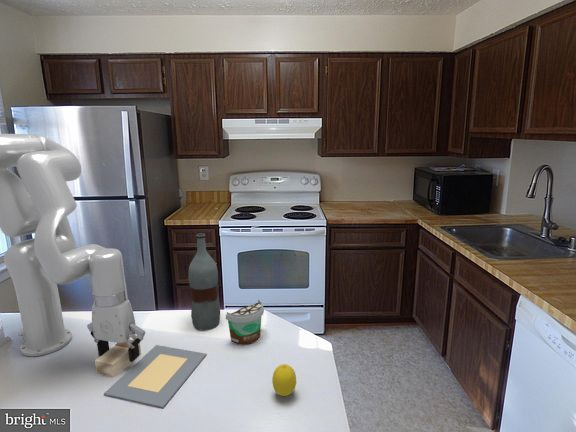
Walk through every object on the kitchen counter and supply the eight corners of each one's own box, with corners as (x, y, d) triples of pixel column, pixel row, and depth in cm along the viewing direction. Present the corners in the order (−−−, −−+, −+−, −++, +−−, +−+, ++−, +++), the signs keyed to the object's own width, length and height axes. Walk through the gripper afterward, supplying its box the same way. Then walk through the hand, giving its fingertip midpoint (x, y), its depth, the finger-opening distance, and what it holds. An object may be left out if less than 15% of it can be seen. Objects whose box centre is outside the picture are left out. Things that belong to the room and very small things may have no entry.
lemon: (277, 406, 78) (277, 375, 76) (269, 390, 83) (268, 361, 81) (300, 399, 80) (300, 369, 78) (290, 384, 85) (290, 355, 83)
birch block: (96, 374, 89) (94, 360, 88) (124, 351, 99) (123, 338, 98) (114, 378, 88) (112, 363, 87) (141, 354, 97) (139, 341, 96)
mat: (103, 395, 82) (103, 393, 82) (156, 346, 101) (156, 344, 100) (163, 408, 78) (163, 406, 78) (206, 355, 96) (206, 353, 96)
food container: (238, 353, 97) (237, 320, 95) (226, 343, 102) (225, 312, 100) (272, 336, 105) (272, 306, 103) (260, 328, 110) (259, 299, 107)
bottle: (213, 333, 107) (207, 239, 100) (186, 329, 109) (179, 238, 102) (225, 317, 116) (220, 231, 109) (200, 314, 118) (194, 229, 111)
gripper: (71, 300, 88) (81, 359, 92) (129, 307, 83) (137, 370, 87) (94, 287, 95) (103, 343, 99) (149, 294, 90) (156, 352, 94)
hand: (119, 356), depth 93 cm, fingers open, 9 cm apart
